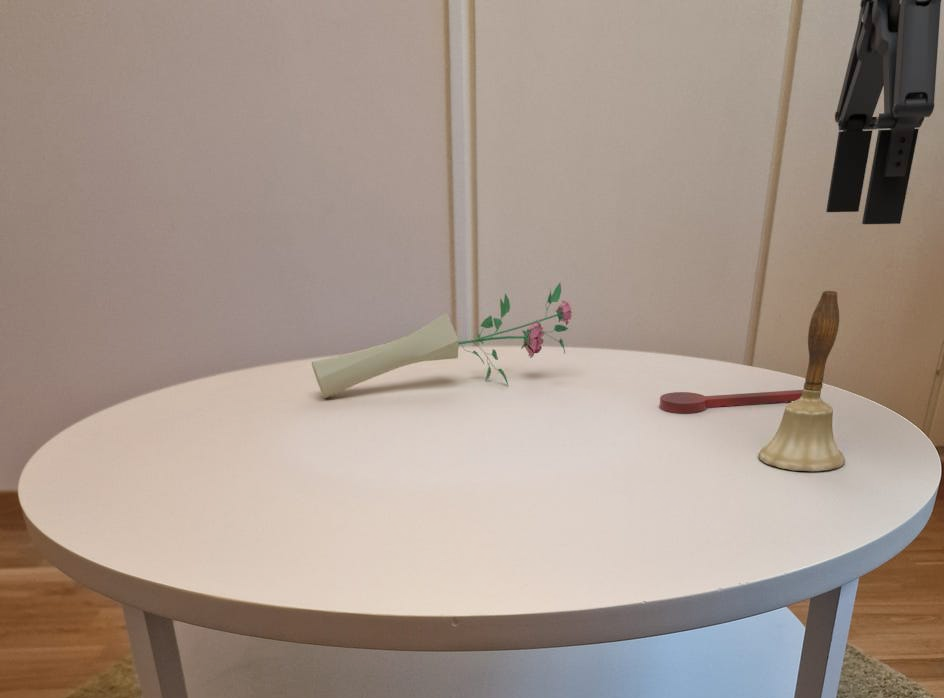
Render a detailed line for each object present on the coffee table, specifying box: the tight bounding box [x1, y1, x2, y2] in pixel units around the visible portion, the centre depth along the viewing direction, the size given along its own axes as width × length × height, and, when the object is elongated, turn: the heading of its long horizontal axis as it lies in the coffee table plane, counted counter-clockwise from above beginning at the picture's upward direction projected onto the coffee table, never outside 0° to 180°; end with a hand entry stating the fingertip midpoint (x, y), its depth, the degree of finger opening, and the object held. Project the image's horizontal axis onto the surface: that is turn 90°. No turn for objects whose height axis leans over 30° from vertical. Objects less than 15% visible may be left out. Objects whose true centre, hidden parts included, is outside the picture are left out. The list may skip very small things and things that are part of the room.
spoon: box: [659, 389, 803, 414], centre depth 108 cm, size 19×6×1 cm, turn 98°
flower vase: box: [311, 282, 573, 400], centre depth 119 cm, size 12×12×35 cm
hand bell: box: [757, 290, 846, 472], centre depth 85 cm, size 8×8×16 cm
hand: (859, 217), depth 76 cm, fingers open, 13 cm apart
